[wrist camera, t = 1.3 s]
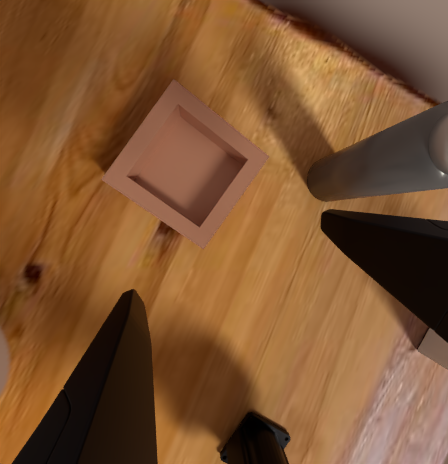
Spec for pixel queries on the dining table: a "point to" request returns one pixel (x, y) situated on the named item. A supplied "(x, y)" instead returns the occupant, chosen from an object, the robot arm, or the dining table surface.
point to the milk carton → (435, 348)
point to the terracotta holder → (186, 165)
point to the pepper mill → (388, 161)
